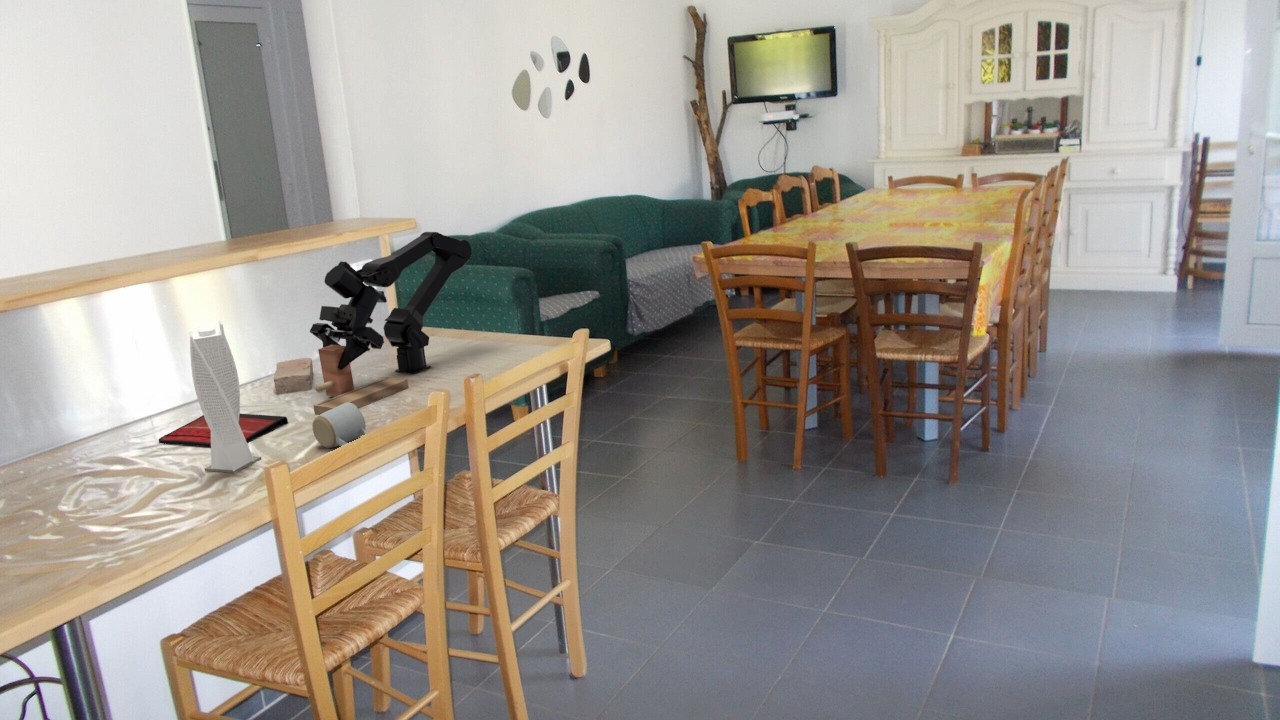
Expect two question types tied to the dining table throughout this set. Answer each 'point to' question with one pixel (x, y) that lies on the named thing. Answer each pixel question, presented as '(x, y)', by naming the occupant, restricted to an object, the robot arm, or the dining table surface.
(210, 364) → the skyscraper
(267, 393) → the dining table surface
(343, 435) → the ceramic mug
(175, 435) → the binder
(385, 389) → the board
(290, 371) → the brick
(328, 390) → the wooden block with peg
